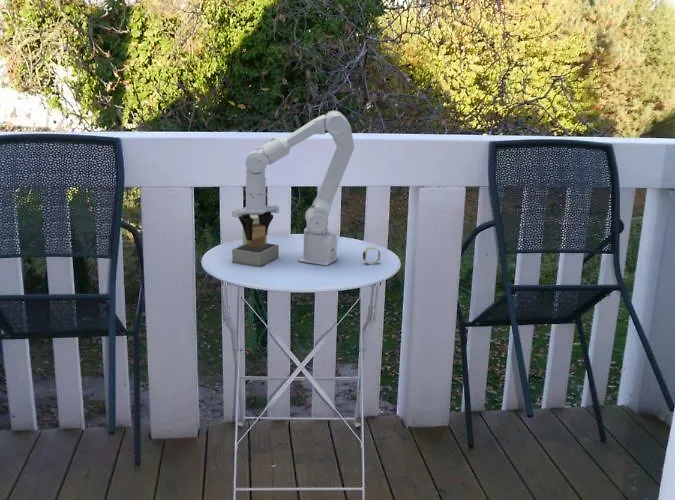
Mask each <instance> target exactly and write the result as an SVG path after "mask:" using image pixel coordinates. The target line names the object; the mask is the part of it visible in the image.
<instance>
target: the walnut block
mask: <svg viewBox="0 0 675 500" xmlns="http://www.w3.org/2000/svg"><path fill="white" fill-rule="evenodd" d="M247 245H248V246H251V247H253V248H255V247H262V246H265V226H264V225H261V224H259V223H257V224H253V225H252V239H251V240H250V241H249V240H247Z"/></svg>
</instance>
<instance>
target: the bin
mask: <svg viewBox="0 0 675 500" xmlns="http://www.w3.org/2000/svg"><path fill="white" fill-rule="evenodd" d="M279 247H280V245H279V244H275V243H269V242H267V243H265V246H262V247H255V248H253V247H251V246H248V245H247V243H246V244H244V245H243V244H242V245H238V246H237V247H235V248H232V249H231V250H232V254H231V255H232V256H231V257H232V258H231V261H232V263H233V264H238V265H245V266H251V267H256V268H257V267H258V268H260V267H263V266H265V265H267V264H269V263H271V262H274V260H277V259H279V253H280V252H279Z"/></svg>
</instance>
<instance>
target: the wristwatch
mask: <svg viewBox="0 0 675 500" xmlns="http://www.w3.org/2000/svg"><path fill="white" fill-rule="evenodd" d="M369 250H376V251H377V252H378V253H377V259H376V260H375V261H373V262H372V261H371V262H368V261H367V257H368V254H367V253H368V251H369ZM362 260H363V261H364V262H366V264H368V265H375V264H378V263H379V262H380V260H381V251H380V250H379V249H378V248H375V247H374V246H369V247H366V249H364V251H363V252H362Z"/></svg>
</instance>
